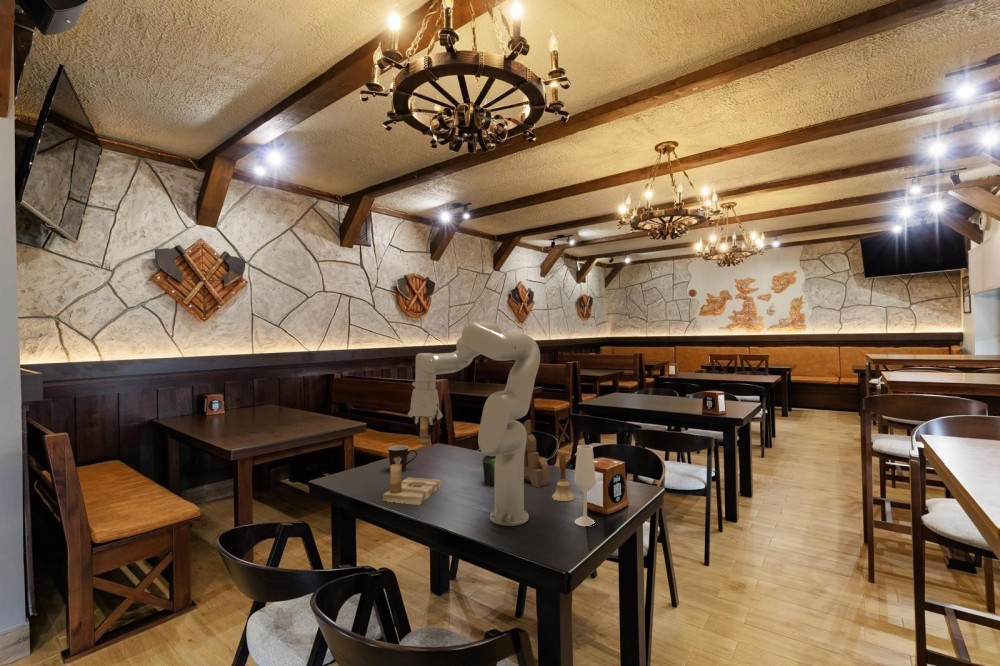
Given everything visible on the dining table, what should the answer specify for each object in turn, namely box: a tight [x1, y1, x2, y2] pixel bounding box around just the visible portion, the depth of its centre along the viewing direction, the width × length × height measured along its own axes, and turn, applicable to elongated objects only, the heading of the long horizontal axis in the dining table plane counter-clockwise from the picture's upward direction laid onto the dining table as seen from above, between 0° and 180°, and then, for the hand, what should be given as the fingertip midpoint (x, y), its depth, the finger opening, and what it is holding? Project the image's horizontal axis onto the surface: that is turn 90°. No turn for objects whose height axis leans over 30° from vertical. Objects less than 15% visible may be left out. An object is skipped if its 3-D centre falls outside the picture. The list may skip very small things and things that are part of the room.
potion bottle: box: [482, 455, 496, 487], centre depth 184 cm, size 8×8×18 cm
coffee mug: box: [387, 444, 418, 473], centre depth 201 cm, size 12×9×10 cm
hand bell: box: [551, 453, 576, 502], centre depth 168 cm, size 8×8×16 cm
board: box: [382, 464, 441, 506], centre depth 172 cm, size 20×14×12 cm
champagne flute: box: [573, 444, 597, 527], centre depth 146 cm, size 7×7×24 cm
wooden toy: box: [522, 419, 550, 488], centre depth 187 cm, size 16×7×25 cm, turn 39°
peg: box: [419, 417, 432, 446], centre depth 174 cm, size 4×4×12 cm
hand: (424, 433), depth 174 cm, fingers closed on peg, 4 cm apart
